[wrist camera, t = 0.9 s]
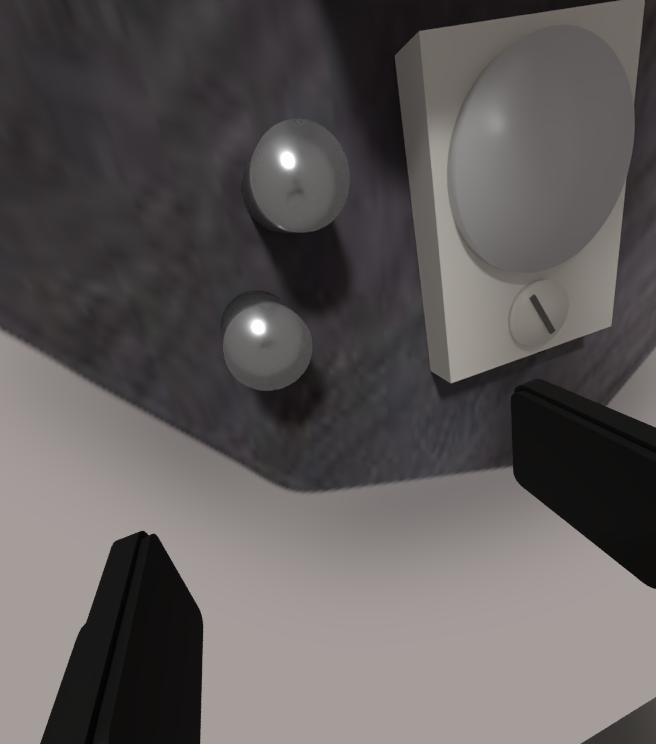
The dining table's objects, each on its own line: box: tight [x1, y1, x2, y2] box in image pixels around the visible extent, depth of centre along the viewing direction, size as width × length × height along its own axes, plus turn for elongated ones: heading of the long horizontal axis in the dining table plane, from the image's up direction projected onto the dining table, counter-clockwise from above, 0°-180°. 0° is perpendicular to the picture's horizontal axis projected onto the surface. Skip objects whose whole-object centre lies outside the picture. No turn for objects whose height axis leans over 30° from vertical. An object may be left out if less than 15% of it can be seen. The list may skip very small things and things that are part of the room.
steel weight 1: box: [242, 119, 350, 233], centre depth 21 cm, size 5×5×6 cm
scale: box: [395, 0, 645, 383], centre depth 27 cm, size 22×16×4 cm
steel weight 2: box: [221, 291, 313, 391], centre depth 23 cm, size 5×5×6 cm
